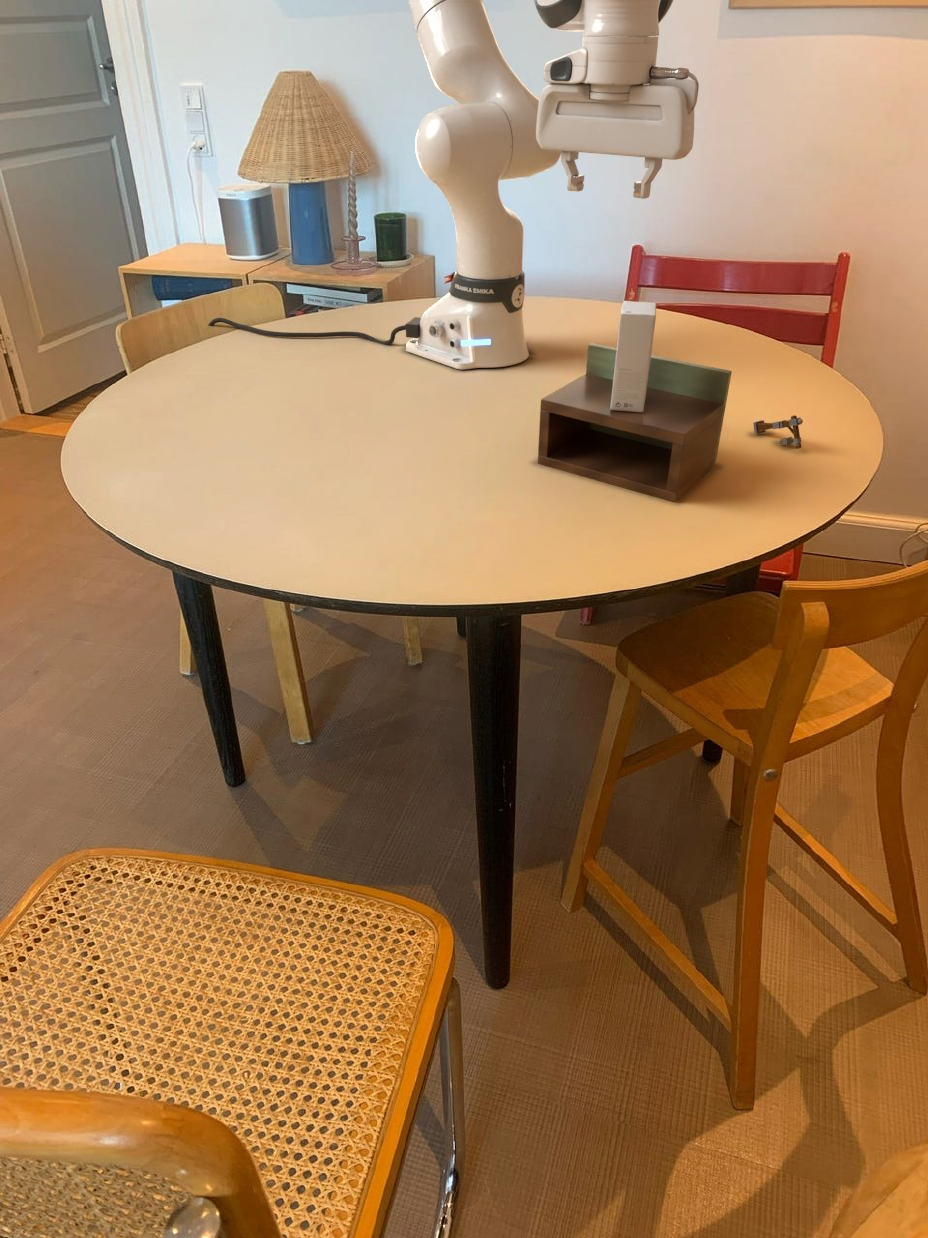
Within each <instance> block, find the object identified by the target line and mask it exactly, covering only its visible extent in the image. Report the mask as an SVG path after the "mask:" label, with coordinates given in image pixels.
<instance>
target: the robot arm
mask: <svg viewBox="0 0 928 1238" xmlns="http://www.w3.org/2000/svg"><path fill="white" fill-rule="evenodd" d="M533 2H534V6H535V9H536V11H537V13H538V15H539V17H540V19H541V20H542V22H543V23H544V24H545V25H546V26H547V27H548V28H549V29H554V30H556V31H560V32H583V34H582V44H581V45H582V47H580V48H579V49H576V50H573V51H571V52H569V53H566V54H564V55H561V56H559V57H556V58H554V59H551V60H549V61H547V62H546V63H545V64H544V66H543V72H542V73H543V75H542V76H543V80H544V82H546V83H548V84H546V85H545V86H544V87H543V88H542V90H541V93H540V95H539V97H538V96H536V95H535V94H534V93H533V92H531V90H529V88H528V87H527V86H526V85H525V83H523V81H522V80H521V79H520V78H519V77H518V75H517V74H516V73H515V71H514V70H513V69H512V67H511V65H509V63H508V61H507V59H506V58H505V56H504V54H503V52H502V51H501V49H500V46H499V44H498V41H497V39H496V36H495V33H494V31H493V28H492V25H491V23H490V20H489V17H488V13H487V11H486V8H485V4H484V2H483V0H407V3H408V6H409V10H410V15H411V19H412V22H413V26H414V29H415V31H416V35H417V38H418V41H419V44H420V47H421V50H422V52H423V56H424V58H425V62H426V64H427V67H428V71H429V73H430V74H429V75H430V76H431V79H432V82H433V83H434V85H435V87H436V88H437V89H438V90H439V91H440V92H441V93H442V94H444V96H447V97H449V98H450V99H452V100H454V101H455V102H457V103H454V104H450V105H448V106H445V107H442V108H441V107H440V108H439V109H436V110H434V111H431V112H429V113H427V114H425V115H424V116H423V118H422V120H421V122H420V123H419V126H418V129H417V132H416V136H415V155H416V158H417V162H418V164H419V167H420V169H421V170H422V172H423V174H424V175H425V176H426V177H427V179H428V180H430V181H431V182H432V183H433V184H434V185H435V186H437V187H438V189H439V190H440V191H441V192H442V194H443V196H444V198H445V199H446V201H447V203H448V205H449V207H450V211H451V214H452V217H453V221H454V227H455V239H456V240H455V241H456V268H457V269H456V270H455V271H453V272H451V274H449V275H445V276H444V277H443V278H444V279H446V280H445V281H443V284H448V283H450V286H449V289H448V292H447V293H446V294H445V295H444V296H443V297H441V298H440V299H439V300H437V302H436V303H434V304H433V305H432V306H430V307H429V308H428V309H427V310H425V311H424V313H422V315H421V317H419V316H414V317H412V318H411V319H410V320H408V322H406V323H405V324H404V325H400V326H397V327H395V328H394V329H392V331H391V333H390V338H389V339H388V340H379V339H377V338H375V337H373V336H371V335H369V334H367V333H365V332H359V331H328V332H327V331H326V332H286V331H285V332H284V331H272V330H266V329H261V328H257V327H255V326H250V325H247V324H242V323H238V322H235V321H233V320H230V319H227V318H224V317H216V318H213V319H211V321H209V323H208V324H207V326H208V327H213V326H215V325H216V324H218V323H222V324H226V325H229V326H231V327H234V328H237V329H240V330H246V331H250V332H253V333H256V334H260V335H264V336H269V337H279V338H331V337H332V338H333V337H357V338H362V339H365V340H368V341H370V342H373V343H377V344H380V345H384V346H390V345H392V344H393V343H394V342H395V340H396V335H397V334H398V333H399V332H401V331H405V337H406V338H409V341H408V342H407V343H406V345H405V351H406V352H408V353H410V354H413V355H416V356H419V357H422V358H425V359H428V360H431V361H433V362H435V363H439V364H442V365H445V366H447V367H451V368H453V369H455V370H470V369H478V368H487V369H488V368H503V367H509V366H514V365H517V364H520V363H522V362H525V361H526V360H527V359H528V358H529V356H530V354H529V349H528V346H527V341H526V340H527V339H526V334H525V327H524V317H523V315H524V313H523V307H524V302H525V285H526V284H525V283H526V279H525V278H526V276H525V271H523V262H524V261H523V259H524V237H525V236H524V233H525V231H524V229H525V228H524V225H523V221H522V220H521V218H520V217H519V216H518V215H517V214H516V213H515V212H514V211H513V210H511V209H510V208H509V207H506V206H505V205H504V204H503V202H502V199H501V195H500V189H499V182H502V181H512V180H519V179H529V178H531V177H534V176H537V175H540V174H542V173H545V172H546V171H549V170H551V169H552V168H553V167H554V166H556V165H557V163H558V162H559V159H560V162H561V164H562V167H563V169H564V171H565V174H566V176H567V185H566V187H567V191H569V192H581V191H583V190H584V188H585V187H584V186H585V184H584V182H585V175H584V174H579V169H578V166H577V163H576V161H575V160H578V159H579V155H580V153H584V154H585V153H586V154H599V155H610V156H621V157H622V156H623V157H633V158H634V157H635V158H644V165H643V167H644V168H645V169H647V170H646V172H645V173H644V175H643V177H642V179H641V180H638V181H634V182H633V184H634V185H633V190H634V191H633V194H632V195H633V198H635V199H642V200H645V199H649V198H650V195H651V187H652V183H653V181H654V179H655V178H656V176H657V175H658V173H659V172H660V170H661V168H662V167H663V160H673V161H676V160H681V159H684V158H686V157H687V156H688V155H689V154H690V152H691V151H692V150H693V147H694V138H695V107H696V106H697V103H698V96H699V89H700V84H699V81H698V78H697V77H696V75H695V74H693V73H692V72H691V71H690V70H689V68H686V67H677V68H672V67H666V66H657V60H658V52H659V51H658V49H659V42H660V41H659V40H660V26H659V25H660V23H661V21H662V20H663V19H664V18H665V16H666V15H667V14H668V12H669V11H670V8H671V7H672V5H673V2H674V0H533ZM688 78H691V79H688Z"/></svg>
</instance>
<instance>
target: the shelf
mask: <svg viewBox="0 0 928 1238" xmlns="http://www.w3.org/2000/svg"><path fill="white" fill-rule="evenodd" d="M616 351H617V347H613V346H608V345H603V344H599V343H598V344H597V343H594V342H590V343H589V344H588V345H587V355H586V366H585V369H586V370H585V373H584V374H583V375H581V376H580V377H578V378H576V379H574V380H572V381H571V382H569V383H566V384H565V385H564V386H562V387H560V388H557V389H556V390H555V391H553V392H551V393H549V394H548V395H546V396H544V397H543V398H541V399H540V409H539V410H540V411H539V431H538V449H537V450H538V451H537V464H538V465H543V466H546V467H549V468H553V469H557V470H559V471H563V472H567V473H570V474H574V475H578V476H581V477H585V478H588V479H592V480H596V481H599V482H603V483H606V484H610V485H613V486H617V487H620V488H624V489H627V490H630V491H635V492H638V493H642V494H644V495H648V496H652V497H655V498H659V499H663V500H665V501H670V502H673V503H676V502H677V501H678V500H679V499H680V498H682V497H683V496H684V495H685V494H686V493H687V492H688V491H689V490H690V489H691V488H692V487H693V486H695V485H696V484H697V483H699V481H701V479H703V478H704V477H705V476H706V475H707V474H708V473H709V472H711V470H713V469H714V468H715V466H716V464H717V457H718V452H719V445H720V440H721V435H722V430H723V423H724V418H725V413H726V406H727V402H728V396H729V389H730V384H731V379H732V372H733V371H732V370H729V369H724V368H719V367H715V366H709V365H703V364H699V363H693V362H689V361H683V360H678V359H673V358H668V357H663V356H659V355H653V354H651V360H650V368H649V375H648V382H647V390H646V397H645V404H644V411H643V412H630V411H616V410H611V409H610V407H611V398H612V388H613V379H614V370H615V361H616Z"/></svg>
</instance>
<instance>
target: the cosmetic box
mask: <svg viewBox="0 0 928 1238" xmlns="http://www.w3.org/2000/svg"><path fill="white" fill-rule="evenodd" d="M656 318H657V303H656V302H649V301H633V300H623V302H622V305H621V309H620V317H619V321H618V322H619V323H618V333H617V341H616V342H617V343H616V348H617V351H616V361H615V370H614V379H613V388H612V398H611V407H610V409H611V410H616V411H630V412H643V411H644V404H645V397H646V390H647V382H648V375H649V368H650V360H651V355H652V350H653V344H654V335H655V328H656Z"/></svg>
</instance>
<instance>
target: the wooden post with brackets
mask: <svg viewBox="0 0 928 1238" xmlns="http://www.w3.org/2000/svg"><path fill="white" fill-rule="evenodd" d="M752 422H753V432H754V436H756V435H759V434H764V433H767V432H766V431H768V430H779V429H784V428H787V429H788V430H789V431H790V433H791V434H792V435H793V437H792V436H788V437H783V438H780V440H779V444H780V446H791V445H794V447H795V449H797V450H798V449H802V448H803V446H802V437H801V435H800V427H799V426H800V425H802V424H803V423H804V420H803V418H801V417H798V416H797V415H791V416H790V418H789V419H788V420H787V419H784V420H780V421H774V422H765V420H764V419H761V420H757V421H752Z"/></svg>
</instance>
